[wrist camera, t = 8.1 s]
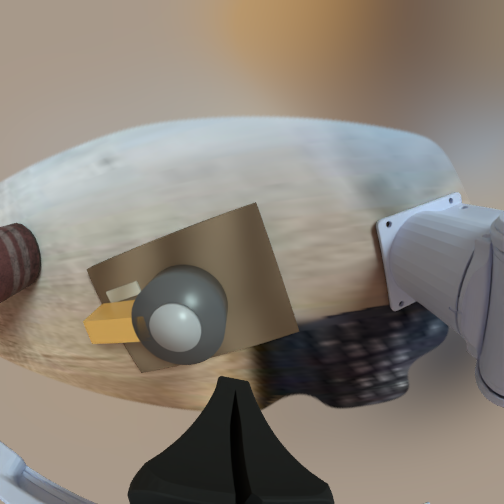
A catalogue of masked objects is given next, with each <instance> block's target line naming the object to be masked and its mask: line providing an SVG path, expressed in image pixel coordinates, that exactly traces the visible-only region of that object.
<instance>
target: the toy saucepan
mask: <svg viewBox="0 0 504 504" xmlns="http://www.w3.org/2000/svg"><path fill="white" fill-rule="evenodd" d="M227 313H228V300H227V296H226V293H225V291H224V289H223V287H222V285H221V284H220V283H219V281H218V280H217V279H216V278H215V277H214V276H213V275H211V274H210V273H209V272H207V271H205V270H204V269H202V268H199V267H196V266H193V265H185V264H180V265H174V266H170V267H168V268H165V269H164V270H162V271H161V272H159V273H158V274H157V275H156V276H155V277H154V278H153V279H152V280H151V281H150V282H149V283H148V284H147V286H146V287H145V288H144V289H143V290H142V291H141V292H140V293H139V294H138V296H137V297H136V299H135V300H129V301H121V302H113V303H105V304H102V305H101V306H99V307H98V308H97V309H96V310H95V311H94V312H93V313H92V314H91V315H90V316H89V317H87V318H86V319H85V320H84V321H83V323H84V325H85V328H86V330H87V332H88V335H89V337H90V340H91V342H92V344H102V343H126V342H141V343H142V344H143V346H144V347H145V348H146V349H147V350H148V351H150V352H151V353H152V354H153V355H155V356H156V357H158V358H160V359H162V360H164V361H167V362H170V363H174V364H180V365H191V364H196V363H200V362H203V361H205V360H207V359H209V358H210V357H211V356H213V355H214V354H215V353H216V352H217V351H218V349H219V348H220V346H221V344H222V342H223V339H224V335H225V328H226V320H227Z"/></svg>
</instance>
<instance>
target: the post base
mask: <svg viewBox="0 0 504 504" xmlns="http://www.w3.org/2000/svg"><path fill="white" fill-rule="evenodd" d="M180 264H185V265H193V266H196V267H199V268H202V269H204V270H205V271H207V272H209V273H210V274H211V275H213V276H214V277H215V278H216V279H217V280H218V281H219V283H220V284H221V285H222V287H223V289H224V291H225V293H226V296H227V300H228V313H227V320H226V328H225V335H224V339H223V342H222V344H221V346H220V348H219V349H218V351H217V352H216V353H215V354H214V355H213V356H211V357H215V356H219V355H223V354H227V353H230V352H234V351H237V350H241V349H245V348H248V347H251V346H255V345H258V344H261V343H265V342H268V341H271V340H274V339H277V338H281V337H284V336H287V335H290V334H293V333H296V332H299V329H298V326H297V323H296V320H295V317H294V313H293V310H292V307H291V304H290V301H289V298H288V295H287V292H286V289H285V286H284V283H283V280H282V277H281V274H280V271H279V268H278V265H277V262H276V259H275V256H274V253H273V250H272V247H271V244H270V241H269V238H268V235H267V232H266V230H265V227H264V224H263V221H262V218H261V215H260V212H259V209H258V206H257V204H256V202H255V203H252V204H250V205H247V206H244V207H241V208H238V209H235V210H233V211H230V212H227V213H224V214H221V215H219V216H216V217H213V218H211V219H208V220H205V221H202V222H200V223H197V224H194V225H192V226H189V227H187V228H184V229H181V230H179V231H176V232H174V233H171V234H168V235H166V236H163V237H161V238H158V239H156V240H153V241H151V242H148V243H146V244H143V245H141V246H139V247H136V248H134V249H131V250H129V251H127V252H124V253H122V254H119V255H117V256H115V257H112V258H110V259H108V260H105V261H103V262H101V263H98V264H96V265H94V266H92V267H90V268H88V269H87V272H88V274H89V276H90V279H91V281H92V283H93V285H94V287H95V290H96V292H97V294H98V296H99V298H100V300H101V302H102V304H105V303H113V302H121V301H129V300H135V299H136V297H137V296H138V294H139V293H140V292H141V291H142V290H143V289H144V288H145V287H146V286H147V284H148V283H149V282H150V281H151V280H152V279H153V278H154V277H155V276H156V275H157V274H158V273H159V272H161V271H162V270H164V269H165V268H168V267H170V266H174V265H180ZM124 345H125V347H126V349H127V350H128V352H129V354H130V355H131V357H132V359H133V360H134V362H135V363H136V365H137V367H138V368H139V370H140V371H141V373H143V372H148V371H154V370H159V369H164V368H168V367H173V366H178V365H180V364H174V363H170V362H167V361H164V360H162V359H160V358H158V357H156V356H155V355H153V354H152V353H151V352H150V351H148V350H147V349H146V348H145V347H144V346H143V344H142V343H141V342H126V343H124ZM211 357H210V358H211Z"/></svg>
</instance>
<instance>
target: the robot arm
mask: <svg viewBox="0 0 504 504" xmlns="http://www.w3.org/2000/svg"><path fill="white" fill-rule="evenodd" d="M449 199H450V203H449ZM388 221H389V226H388V227H387V226H386V223H387V222H388ZM376 229H377V234H378V239H379V243H380V248H381V253H382V259H383V264H384V270H385V276H386V282H387V288H388V295H389V302H390V308H391V309H392V310H393V311H398V310H400V309H402V308H404V307H406V306H408V305H410V304H412V303H414V302H416V301H417V302H419V303H420V304H421V305H423V306H424V307H425V308H426V309H428V310H429V311H430V312H432V313H433V314H434V315H436V316H437V317H438V318H439V319H441V320H442V321H443V322H444V323H446V324H447V325H448V326H449V327H451V328H452V329H453V330H455V331H456V332H457V333H458V334H459V335H461V336H462V337H463V338H464V339H465V340H466V342H467V351H468V352H469V353H470V354H471V355H472V356H473V357H475V358H476V359H477V363H476V367H475V378H476V382H477V385H478V388H479V389H480V391H481V393H482V394H483V395H484V396H485V397H486V398H487V399H488V400H489V401H491V402H492V403H494V404H496V405H497V406H501V407H504V211H503V210H498V209H493V208H487V207H482V206H475V205H470V204H464V203H462V200H461V195H460V193H458V192H454V193H451V194H448V195H446V196H443V197H440V198H438V199H435V200H432V201H430V202H427V203H424V204H421V205H419V206H416V207H413V208H410V209H408V210H405V211H402V212H399V213H397V214H394V215H391V216H388V217H386V218H383V219H380V220H378V222H377V223H376ZM401 301H402V303H401V304H400V305H399V303H400V302H401ZM128 498H129V502H130V504H334V499H333V495H332V493H331V490H330V488H329V486H328V484H327V483H325V482H324V481H323V480H321V479H319V478H318V477H317V476H315V475H314V474H312V473H311V472H310V471H308V470H307V469H306V468H305V467H304V466H302V465H301V464H300V463H299V462H298V461H297V460H296V459H295V458H294V457H293V456H292V455H291V454H290V453H289V452H288V451H287V449H286V448H285V447H284V446H283V445H282V443H281V442H280V441H279V440H278V438H277V437H276V436H275V434H274V433H273V431H272V430H271V428H270V426H269V425H268V423H267V421H266V420H265V418H264V416H263V414H262V412H261V410H260V408H259V406H258V404H257V402H256V400H255V397H254V395H253V392H252V390H251V387H250V384H249V382H248V381H244V380H239V379H234V378H229V377H224V376H220V377H219V378H218V381H217V385H216V389H215V391H214V393H213V395H212V397H211V398H210V400H209V402H208V404H207V405H206V407H205V408H204V410H203V411H202V413H201V414H200V415H199V417H198V418H197V419H196V421H195V422H194V423H193V424H192V425H191V427H189V429H188V430H187V431H186V432H185V433H184V434H183V435H182V436H181V437H180V438H179V439H178V440H176V441H175V442H174V443H173V444H172V445H170V446H169V447H168V448H167V449H165V450H164V451H163V452H162V453H160V454H159V455H157V456H156V457H154V458H152V459H151V460H149V461H148V462H146V463H145V464H144V465H143V466H142V468H141V469H140V470H139V471H138V472H137V474H136V475H135V477H134V478H133V480H132V482H131V484H130V487H129V491H128ZM0 499H1V500H2V501H3V502H4V503H5V504H96V503H94V502H92V501H89V500H87V499H85V498H83V497H80V496H79V495H77V494H75V493H73V492H71V491H69V490H67V489H65V488H63V487H61V486H59V485H57V484H56V483H54V482H52V481H50V480H49V479H47V478H45V477H44V476H42V475H40V474H39V473H37V472H36V471H34V470H33V469H31V468H30V467H28V466H27V465H26V464H25V462H24V460H23V459H22V458H21V457H20V456H19V455H18V454H17V453H15V452H14V451H12V450H11V449H10V448H9V447H7V446H6V445H5V444H4V443H2V442H1V441H0ZM425 504H430V503H429V502H427V503H425Z"/></svg>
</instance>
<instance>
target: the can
mask: <svg viewBox="0 0 504 504" xmlns="http://www.w3.org/2000/svg"><path fill="white" fill-rule="evenodd" d="M40 265H41V257H40V251H39V246H38V243H37V241H36V239H35V237H34V235H33V234H32V232H31V231H30V230H29V229H27V228H26V227H25V226H24V225H22V224H18V223H14V224H10V225H7V226H3V227H0V303H1V302H2V301H4V300H6V299H7V298H9V297H11V296H12V295H14V294H16V293H18V292H19V291H21V290H23V289H24V288H26V287H28V286H30V285H31V284H32V283H34V282H35V280H36V278H37V276H38V274H39V270H40Z"/></svg>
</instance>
